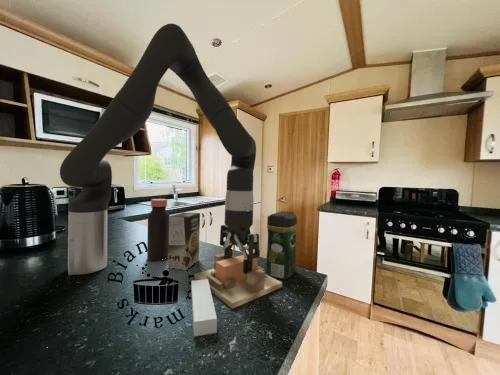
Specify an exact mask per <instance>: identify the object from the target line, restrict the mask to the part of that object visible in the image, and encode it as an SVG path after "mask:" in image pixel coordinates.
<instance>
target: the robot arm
mask: <svg viewBox="0 0 500 375" xmlns="http://www.w3.org/2000/svg"><path fill="white" fill-rule="evenodd" d="M168 70H171V71H172V72H173V73H174V74H175V75H176V76H177V77H178V78H179V79H180V80H182V82H183V83H184V85H186V87H187V88H188V89H189V91H190V92H191V93H192V95H193V98H194V99H195V101H196V103H197V105H198V107H199V109H200V110H201V112H202V114H203V115H204V117H205V118H206V120H207V121H208V123H209V124H210V125H211V127H212V128H213V129H214V131H215V132H216V135H217V136H218V139H219V141H220V142H221V144H222V145H223V148H224V149H225V151H226V152H227V153H228V154H229V155H230V156H231V161H230V168H229V169H228V171H227V174H226V191H225V192H226V193H225V198H224V199H225V201H224V224H221V225H220V234H219V246H220V247H222V248H223V251H224V252H223V253H224V260H225V259H229V258H233V249H232V248H233V247H234V246H236V247H237V248H238V251H240V252H241V254H242V255H243V256H244V263H243V273H244V274H247V273H249V272H251V271H252V263H253V259H255V258H257V259H258V258H259V257H260V235H259V233H251V227H252V226H253V224H254V201H255V200H254V169H255V163H256V157H257V156H256V155H257V144H256V141H255V138H253V136H252V135H251V134H250V133H249V131H247V130H246V128H245V127H244V126H243V124H242V123H241V121H240V120H239V119H238V116H237V114H236V112H235V110H234V109H233V108H232V106H231V105H230V104H229V102H228V101H227V99H226V98H225V97H224V95H223V94H222V93H221V92H220V90H219V89H218V88H217V86H215V84H213V82H212V80H210V78H209V77H208V75H207V74H206V71H205V70H204V68H203V65H202V64H201V61H200V60H199V57H198V55H197V52H196V49H195V47H194V45H193V43H192V41H190V39H189V37H188V36H187V34H186V33H185V31H184V30H183V29H182V28H181V27H180V25H178V24H176V23H167V24H164V25H162V26H161V27H160V28H159V29H158V30H157V31H156V32H155V34H154V35H153V36H152V38H151V40H150V41H149V44H147V46H146V48H145V51H144V52H143V54H142V56H141V57H140V60H139V61H138V62H137V65H136V66H135V68H134V69H133V71H132V72H131V73H130V75H129V76H128V77H127V79H126V81H125V83H124V84H123V85H122V87H121V88H120V89H119V90H118V92H117V93H116V94H115V96H114V97H112V98H113V99H112V100H111V101H110V102H109V104H108V105H107V107H106V108H105V110H104V111H103V113H102V115H100V117H99V118H98V120H97V121H96V122H95V124H94V125H92V127H91V128H90V130H89V131H88V133H87V134H85V135H84V137H83V138H82V139H81V140H80V141H79V143H77V145H76V146H74V148H72V150H70V152H69V153H68V154H67V155H66V157H64V160H62V162H61V165H60V167H59V177H60V179H61V181H62V182H63V184H65V185H67V186H68V187H72V188H81V190H80V191H81V192H80V193H79V194H78V196H76V197H75V198H73V199H71V200H70V201H69V202H68V205H67V206H68V208H67V210H68V215H67V218H68V221H67V222H68V225H67V227H68V229H67V230H68V235H67V236H68V237H67V245H68V246H67V272H68V273H67V274H68V276H72V275H87V274H91V273H96V272H99V271H102V270H103V269H105V268H106V267H107V266H108V204H109V203H110V201H111V196H112V180H113V172H112V166H111V164H110V162H109V161H108V160H107V159H106V158H105V157H106V156H107V154H109V152H110V151H112V150H113V149H114V148H115V147H117V146H119V145H120V144H122V143H124V142H126V141H127V140H128V139H130V138H132V137H133V136H134V135H135V134H137V133H138V132H139V131H140V129H141V128H142V127H143V126H144V125H145V123H146V122H147V120H148V119H149V118H150V116H151V114H152V112H153V110H154V106H155V100H156V95H157V94H156V93H157V90H158V86H159V83H160V82H161V79H163V77H164V75H165V74H166V72H168ZM224 238H225V240H224Z"/></svg>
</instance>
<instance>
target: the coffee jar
mask: <svg viewBox="0 0 500 375" xmlns="http://www.w3.org/2000/svg"><path fill="white" fill-rule="evenodd" d="M266 221H267V222H266V228H267V243H266V245H267V246H266V258H265V259H266V260H265V274H266V275H268V276H270V277H272V278H274V279H276V280H280V279H281V280H288V279H289V278H290V277H292V276H293V275H294V273H295V272H296V267H297V266H296V265H297V264H296V262H297V261H296V251H297V250H296V248H297V247H296V246H297V243H296V242H297V229H298V218H297V215H296V214H295V213H294V212H293V211H284V210H282V211H278V212H275V213H271V214H270V215H267V219H266Z"/></svg>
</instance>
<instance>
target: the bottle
mask: <svg viewBox="0 0 500 375" xmlns="http://www.w3.org/2000/svg"><path fill="white" fill-rule="evenodd" d="M150 206H151V211H150V212H149V213H148V214H147V242H146V243H147V248H146V251H147V254H146V256H147V257H146V259H147V260H148V261H149V260H150V261H149V262H159V261H158V260H162V259H165V258H167V257H168V253H169V219H170V217H169V216H171V215H170V213H169V211H167V206H168V200H167V198H151V199H150ZM167 259H168V258H167ZM165 260H166V259H165ZM162 261H163V260H162Z"/></svg>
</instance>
